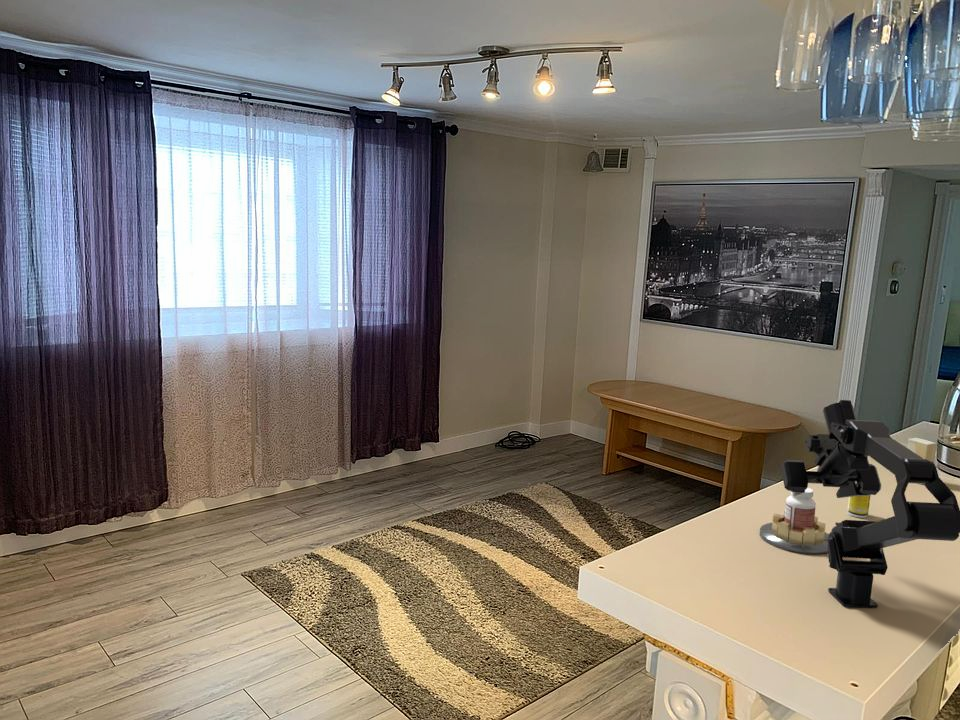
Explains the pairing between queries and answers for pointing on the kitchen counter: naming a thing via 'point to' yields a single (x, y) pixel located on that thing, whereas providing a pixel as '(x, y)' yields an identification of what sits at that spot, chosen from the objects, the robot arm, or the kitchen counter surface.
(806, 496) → the pill bottle
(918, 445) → the skincare box
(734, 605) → the kitchen counter surface
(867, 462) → the robot arm
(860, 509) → the supplement bottle
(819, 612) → the kitchen counter surface
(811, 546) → the crown on disc
